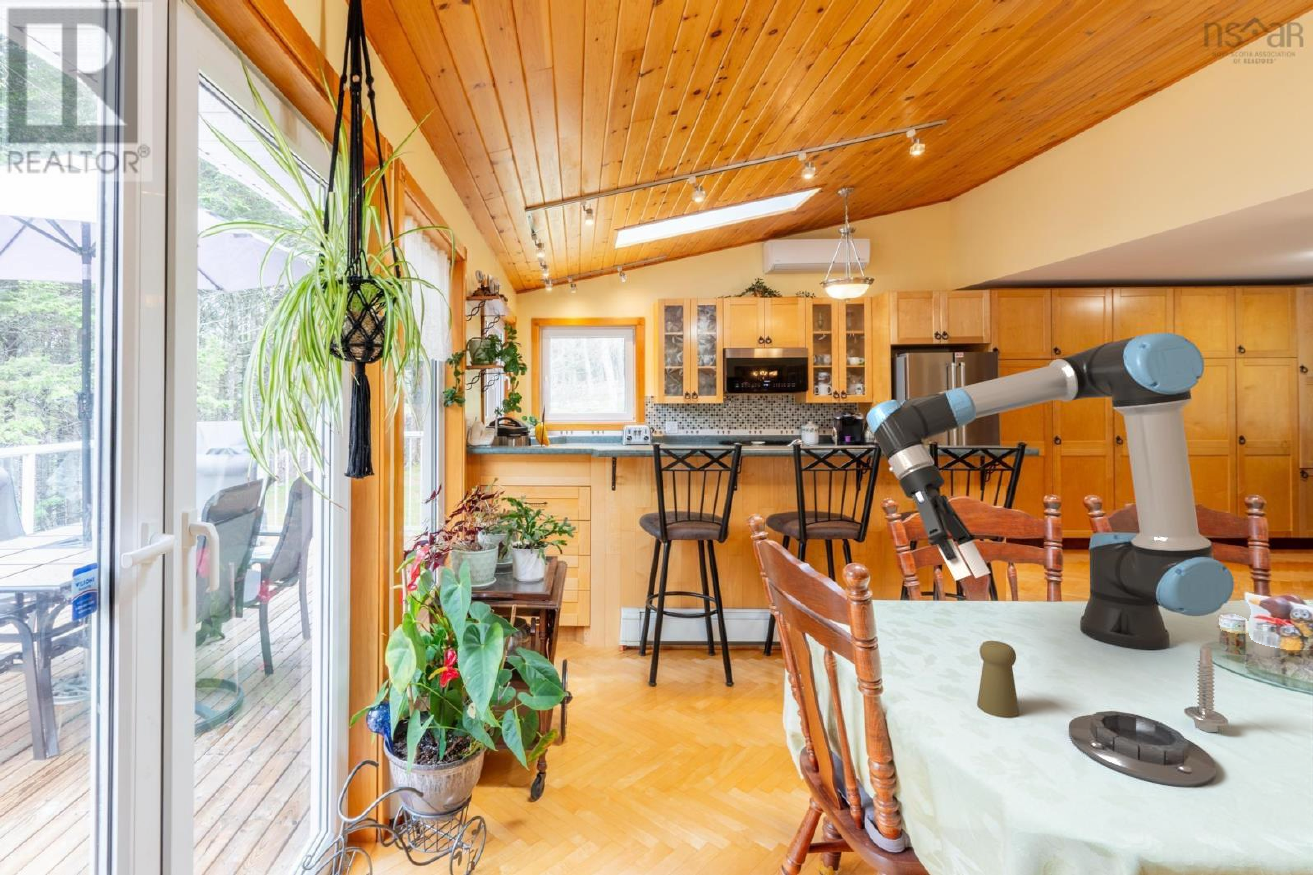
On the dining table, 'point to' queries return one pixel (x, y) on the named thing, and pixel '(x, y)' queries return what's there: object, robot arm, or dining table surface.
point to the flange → (1142, 749)
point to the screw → (1206, 696)
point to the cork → (998, 680)
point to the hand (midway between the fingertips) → (974, 576)
